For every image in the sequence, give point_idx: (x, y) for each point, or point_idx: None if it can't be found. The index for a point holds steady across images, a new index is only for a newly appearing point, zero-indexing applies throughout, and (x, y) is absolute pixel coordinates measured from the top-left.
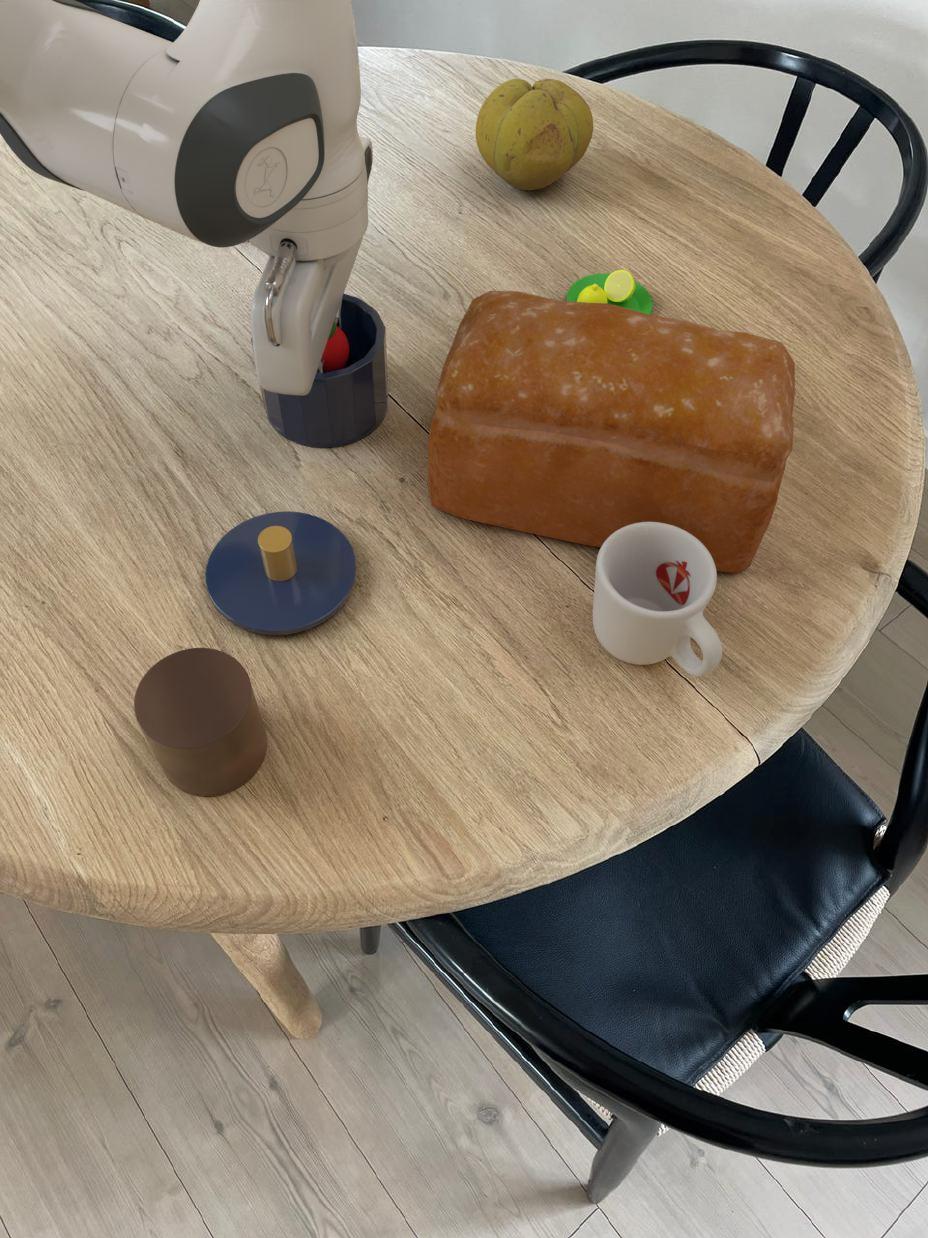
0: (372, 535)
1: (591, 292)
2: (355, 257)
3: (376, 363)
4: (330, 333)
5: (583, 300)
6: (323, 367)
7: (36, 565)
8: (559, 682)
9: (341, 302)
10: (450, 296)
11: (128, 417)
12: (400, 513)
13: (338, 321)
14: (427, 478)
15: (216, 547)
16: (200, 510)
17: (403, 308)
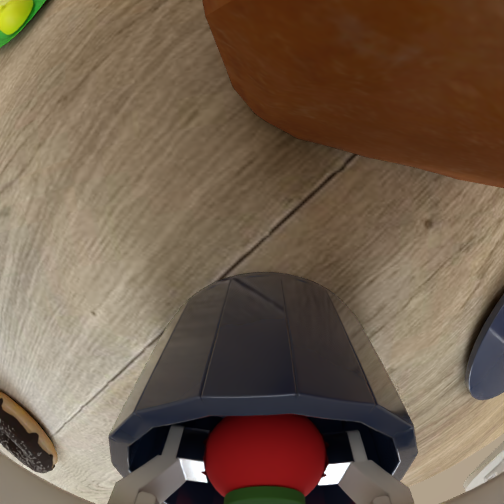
0: (498, 254)
1: (7, 9)
2: (44, 493)
3: (345, 378)
4: (291, 498)
5: (14, 17)
6: (344, 455)
7: (438, 468)
8: None
9: (144, 468)
10: (4, 205)
11: None
12: (477, 220)
13: (184, 453)
14: (491, 185)
15: (486, 398)
16: (427, 423)
17: (36, 271)
